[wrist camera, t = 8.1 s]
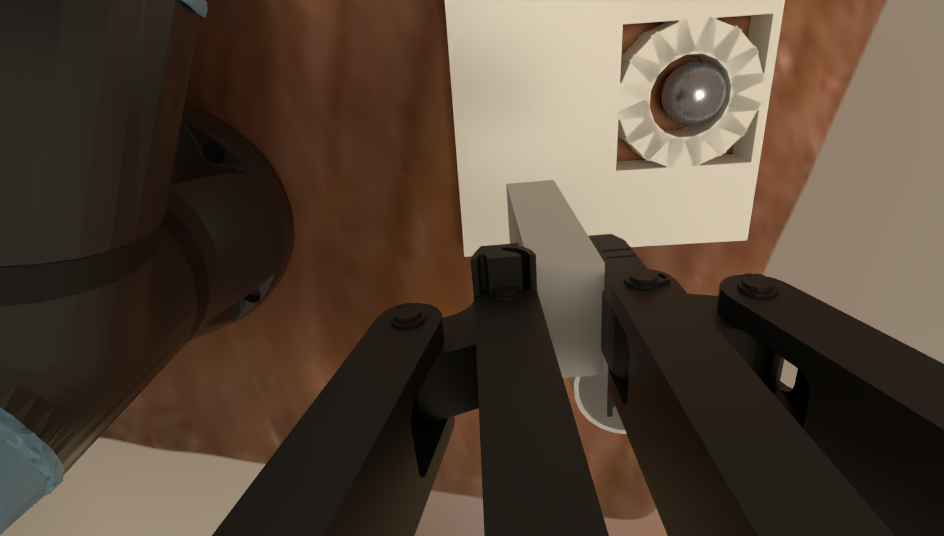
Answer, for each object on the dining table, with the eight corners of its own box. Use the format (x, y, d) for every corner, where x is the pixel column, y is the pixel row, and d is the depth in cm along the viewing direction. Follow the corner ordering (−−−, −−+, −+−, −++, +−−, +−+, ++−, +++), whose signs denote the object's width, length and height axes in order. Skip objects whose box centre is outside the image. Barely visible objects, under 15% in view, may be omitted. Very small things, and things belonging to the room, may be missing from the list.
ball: (724, 120, 32) (663, 122, 33) (730, 58, 30) (666, 63, 32) (723, 126, 29) (656, 128, 30) (729, 58, 27) (659, 64, 29)
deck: (465, 242, 36) (464, 256, 34) (442, -62, 29) (439, -71, 26) (729, 227, 35) (747, 240, 33) (773, -88, 28) (800, -100, 26)
